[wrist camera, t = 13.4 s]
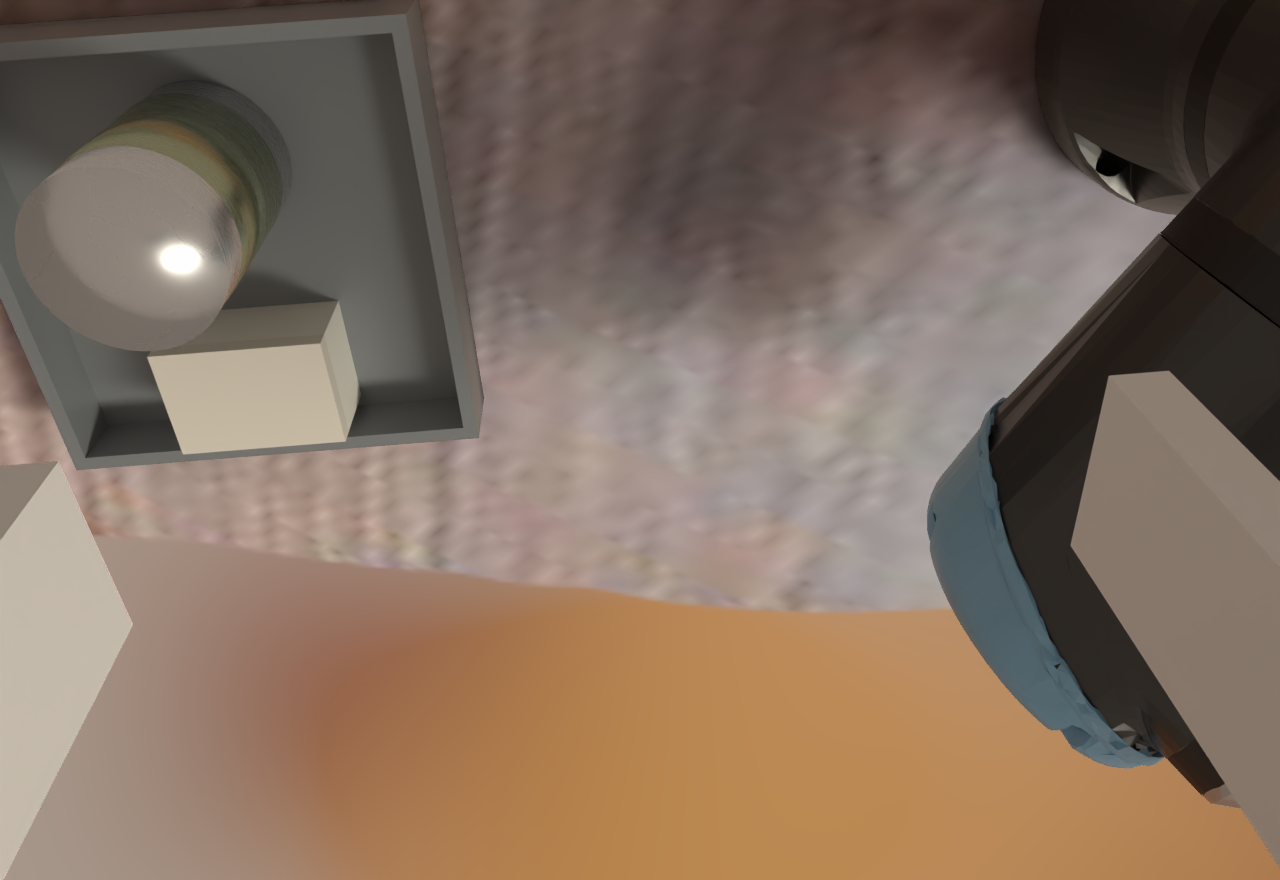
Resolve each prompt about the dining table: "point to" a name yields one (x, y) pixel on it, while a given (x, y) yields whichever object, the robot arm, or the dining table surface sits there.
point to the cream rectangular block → (261, 380)
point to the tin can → (156, 217)
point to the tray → (305, 228)
